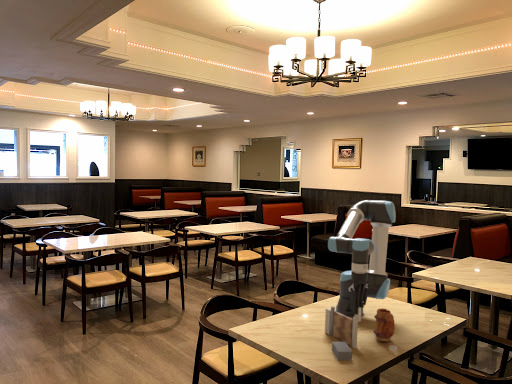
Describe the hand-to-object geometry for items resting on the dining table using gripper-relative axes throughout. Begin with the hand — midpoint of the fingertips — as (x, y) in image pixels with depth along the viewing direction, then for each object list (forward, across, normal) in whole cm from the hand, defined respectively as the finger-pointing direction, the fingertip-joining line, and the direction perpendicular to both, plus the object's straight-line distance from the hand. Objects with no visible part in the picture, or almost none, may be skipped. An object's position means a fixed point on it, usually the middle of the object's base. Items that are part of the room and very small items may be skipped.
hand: (357, 320), depth 196 cm
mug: (+10, +10, -8) cm, 16 cm away
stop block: (+10, -17, -8) cm, 22 cm away
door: (+9, -6, +2) cm, 11 cm away
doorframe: (+9, -7, +4) cm, 12 cm away
